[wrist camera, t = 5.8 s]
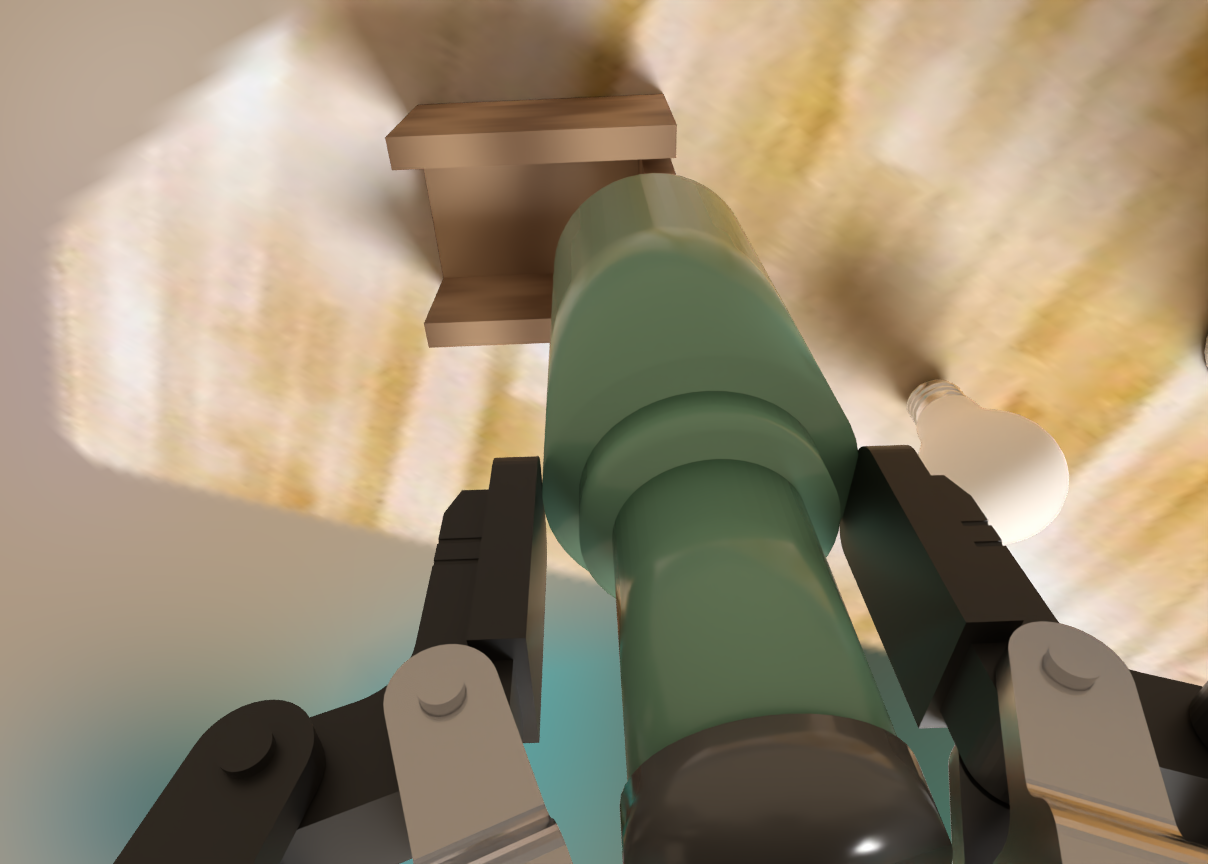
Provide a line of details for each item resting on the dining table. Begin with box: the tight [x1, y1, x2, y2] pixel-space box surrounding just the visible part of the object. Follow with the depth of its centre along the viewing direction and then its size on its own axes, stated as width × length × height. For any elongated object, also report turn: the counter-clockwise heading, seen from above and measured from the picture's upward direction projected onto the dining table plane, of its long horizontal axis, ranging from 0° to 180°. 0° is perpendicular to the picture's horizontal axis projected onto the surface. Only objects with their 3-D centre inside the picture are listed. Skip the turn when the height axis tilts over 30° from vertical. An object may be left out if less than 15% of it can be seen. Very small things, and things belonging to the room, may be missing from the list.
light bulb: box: [907, 379, 1069, 545], centre depth 36 cm, size 7×7×11 cm
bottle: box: [542, 173, 953, 864], centre depth 13 cm, size 5×5×15 cm
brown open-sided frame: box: [385, 94, 677, 348], centre depth 31 cm, size 11×9×6 cm
